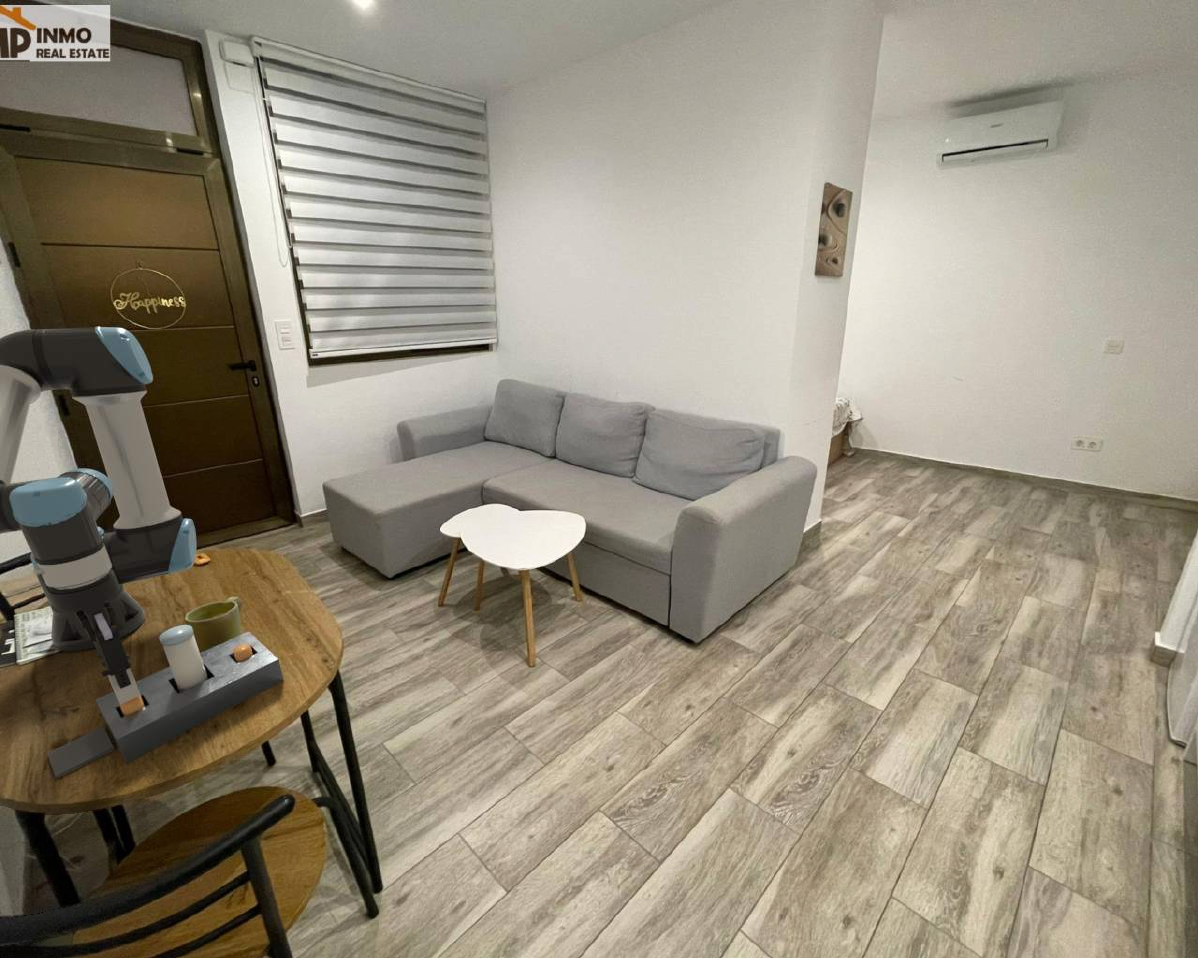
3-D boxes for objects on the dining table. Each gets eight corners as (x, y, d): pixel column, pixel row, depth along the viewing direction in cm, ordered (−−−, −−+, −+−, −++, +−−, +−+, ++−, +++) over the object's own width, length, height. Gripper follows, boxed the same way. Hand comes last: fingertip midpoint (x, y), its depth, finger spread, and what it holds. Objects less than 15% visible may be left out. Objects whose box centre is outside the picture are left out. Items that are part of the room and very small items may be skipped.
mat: (48, 755, 86) (47, 753, 86) (104, 729, 91) (103, 726, 91) (56, 779, 82) (55, 776, 82) (114, 749, 87) (113, 746, 87)
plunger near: (128, 727, 91) (117, 701, 89) (148, 717, 93) (138, 692, 91) (132, 735, 89) (121, 709, 87) (153, 725, 91) (142, 699, 89)
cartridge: (180, 701, 97) (155, 634, 92) (208, 687, 100) (187, 621, 95) (188, 713, 94) (164, 644, 89) (217, 698, 98) (195, 631, 93)
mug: (218, 656, 106) (202, 610, 105) (183, 662, 109) (167, 617, 108) (270, 630, 118) (256, 588, 117) (237, 637, 120) (223, 596, 120)
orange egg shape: (238, 673, 103) (230, 649, 101) (253, 666, 105) (247, 642, 103) (243, 679, 102) (236, 655, 100) (259, 671, 104) (252, 647, 102)
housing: (105, 721, 93) (95, 699, 91) (254, 651, 110) (248, 631, 109) (126, 763, 84) (116, 739, 83) (283, 679, 102) (278, 659, 100)
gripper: (39, 574, 81) (91, 693, 90) (55, 603, 74) (110, 730, 82) (102, 555, 87) (146, 669, 95) (123, 581, 80) (168, 702, 88)
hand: (129, 697), depth 89 cm, fingers closed
